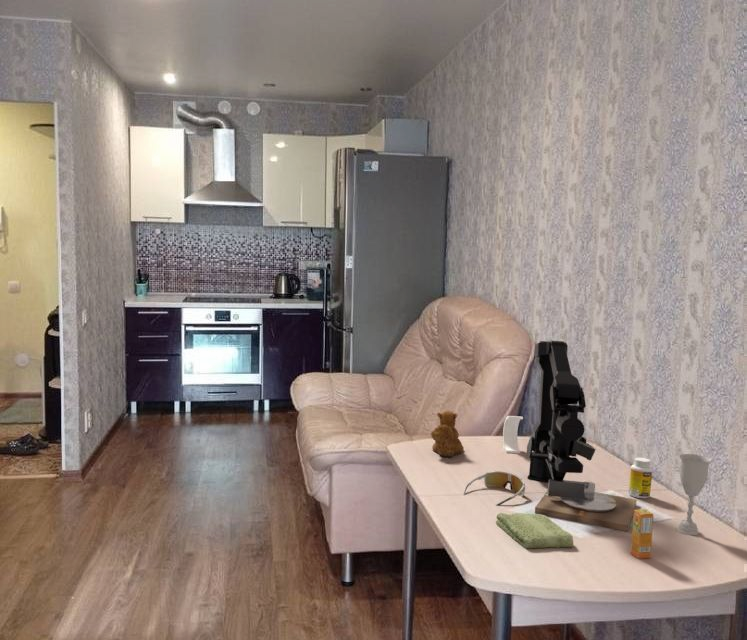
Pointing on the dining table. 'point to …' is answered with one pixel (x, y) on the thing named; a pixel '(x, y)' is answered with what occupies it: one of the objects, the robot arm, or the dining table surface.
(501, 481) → the sunglasses
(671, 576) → the dining table surface
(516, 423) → the headphone stand
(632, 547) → the supplement box
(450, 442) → the brown teddy bear
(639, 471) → the supplement bottle
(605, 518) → the dial base
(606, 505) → the dial
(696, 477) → the chalice
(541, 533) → the washcloth
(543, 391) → the robot arm
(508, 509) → the dining table surface
